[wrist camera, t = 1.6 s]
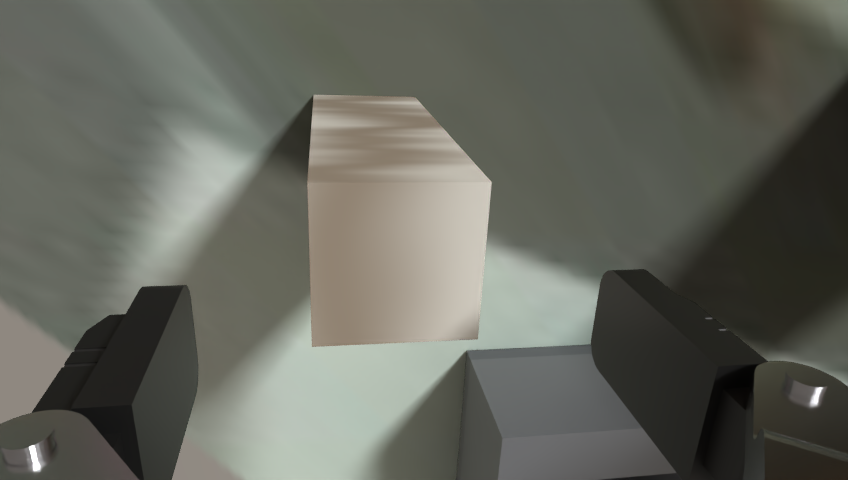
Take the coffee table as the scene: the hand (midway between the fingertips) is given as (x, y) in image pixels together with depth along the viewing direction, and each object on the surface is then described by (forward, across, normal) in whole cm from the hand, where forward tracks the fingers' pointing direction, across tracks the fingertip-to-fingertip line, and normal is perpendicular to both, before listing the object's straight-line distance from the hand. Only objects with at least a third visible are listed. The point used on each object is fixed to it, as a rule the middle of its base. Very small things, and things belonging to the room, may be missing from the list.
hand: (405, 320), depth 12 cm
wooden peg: (+14, 0, 0) cm, 14 cm away
